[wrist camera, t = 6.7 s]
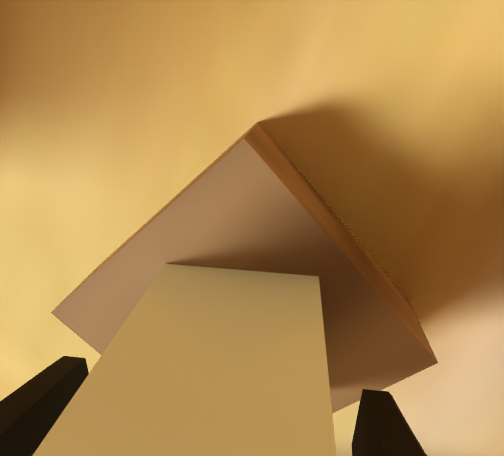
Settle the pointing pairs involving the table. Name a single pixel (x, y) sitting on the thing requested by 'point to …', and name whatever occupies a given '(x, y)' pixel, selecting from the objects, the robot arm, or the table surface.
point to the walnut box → (264, 265)
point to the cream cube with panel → (208, 372)
